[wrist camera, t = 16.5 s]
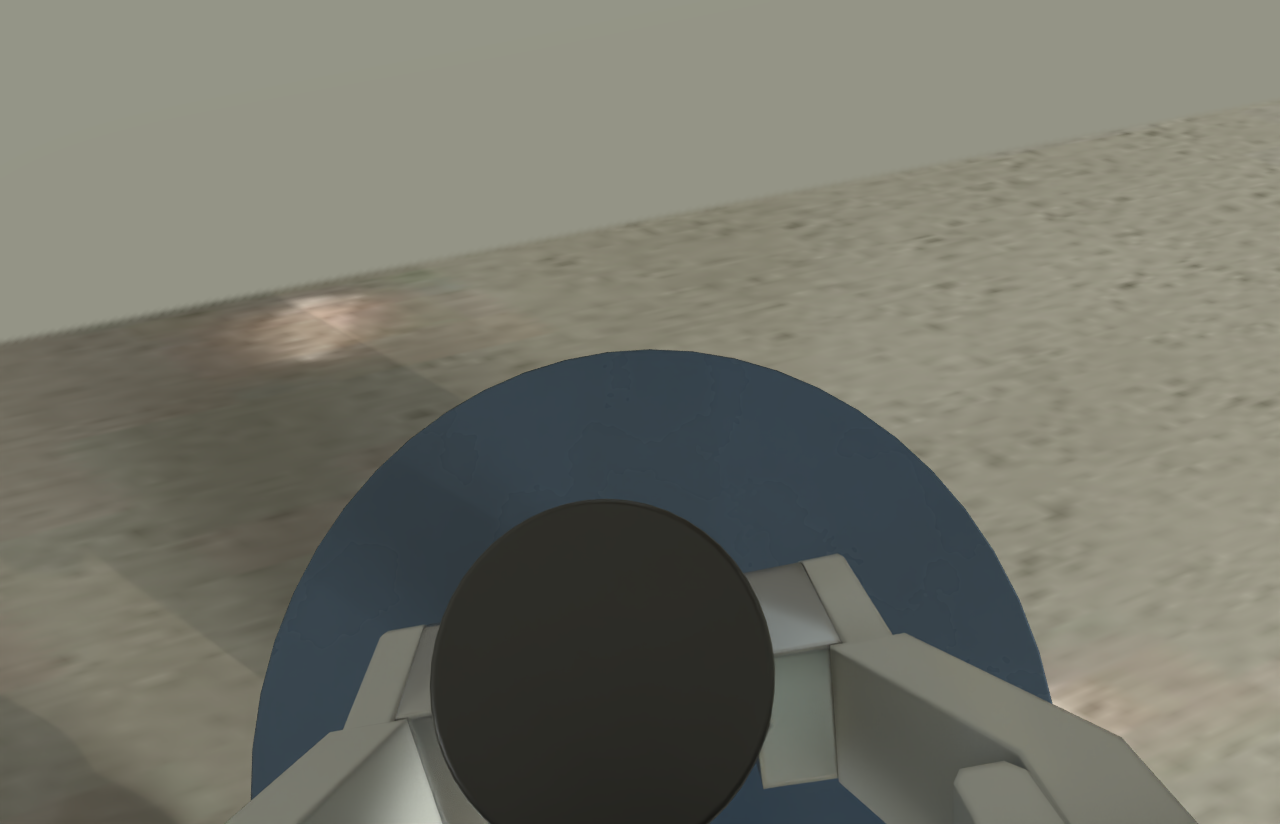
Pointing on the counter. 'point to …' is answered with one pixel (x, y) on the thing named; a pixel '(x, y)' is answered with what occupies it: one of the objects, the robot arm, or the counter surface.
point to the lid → (626, 587)
